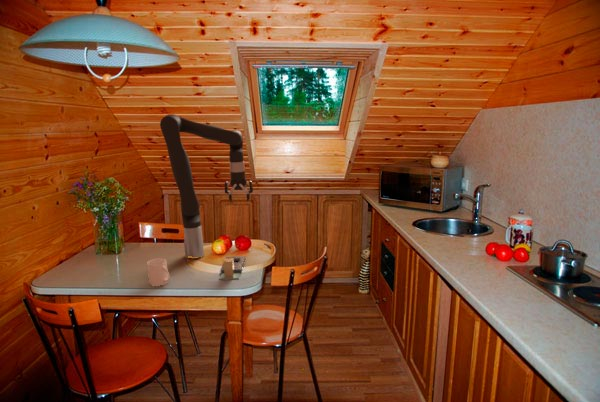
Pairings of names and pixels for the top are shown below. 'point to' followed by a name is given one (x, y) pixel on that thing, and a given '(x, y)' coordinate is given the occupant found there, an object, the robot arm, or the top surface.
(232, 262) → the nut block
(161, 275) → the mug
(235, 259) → the rail plate
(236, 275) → the pad
